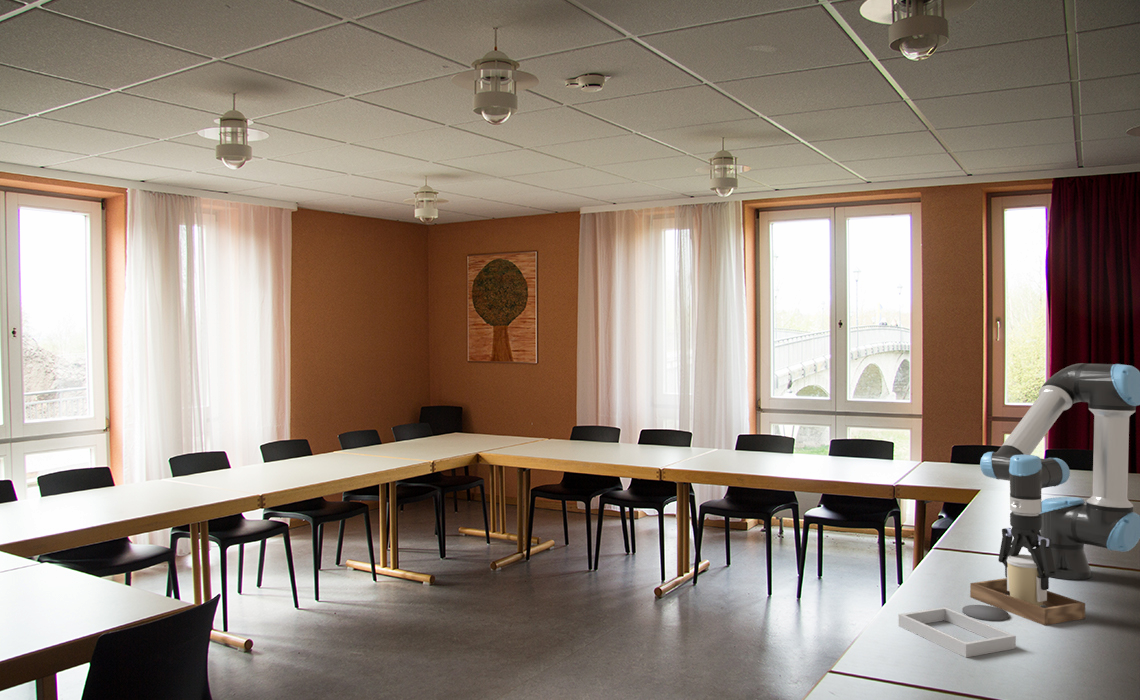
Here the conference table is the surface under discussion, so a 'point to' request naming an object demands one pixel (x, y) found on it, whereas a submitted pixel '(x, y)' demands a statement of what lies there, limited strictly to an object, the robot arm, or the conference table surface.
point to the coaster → (985, 612)
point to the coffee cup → (1023, 578)
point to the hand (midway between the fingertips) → (1026, 595)
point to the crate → (1055, 613)
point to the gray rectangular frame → (917, 625)
